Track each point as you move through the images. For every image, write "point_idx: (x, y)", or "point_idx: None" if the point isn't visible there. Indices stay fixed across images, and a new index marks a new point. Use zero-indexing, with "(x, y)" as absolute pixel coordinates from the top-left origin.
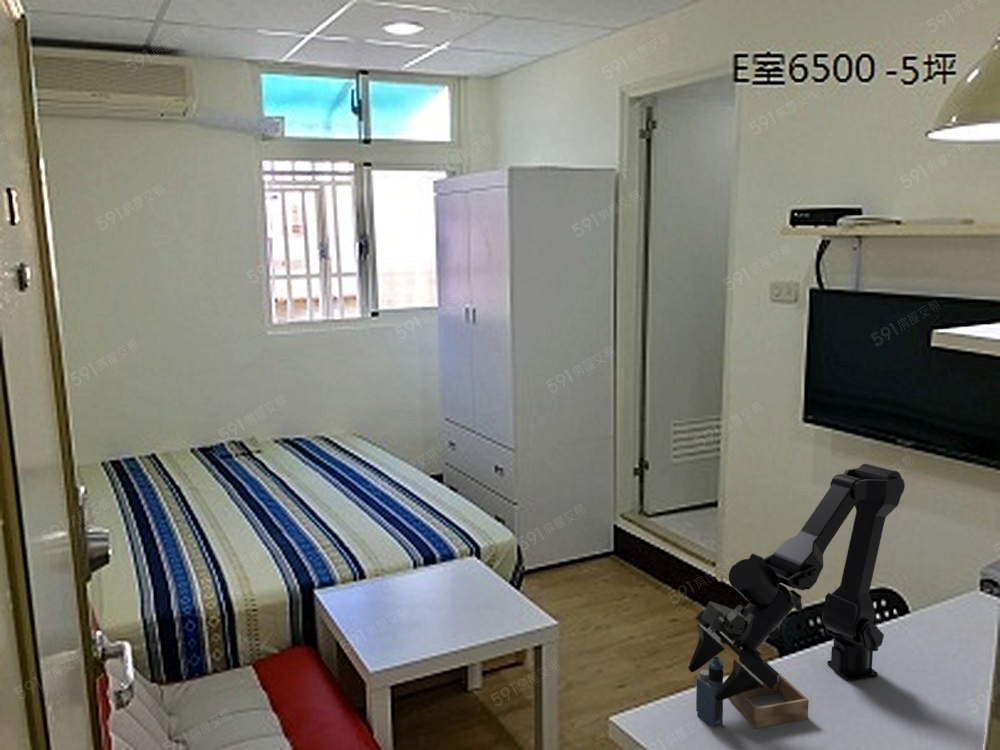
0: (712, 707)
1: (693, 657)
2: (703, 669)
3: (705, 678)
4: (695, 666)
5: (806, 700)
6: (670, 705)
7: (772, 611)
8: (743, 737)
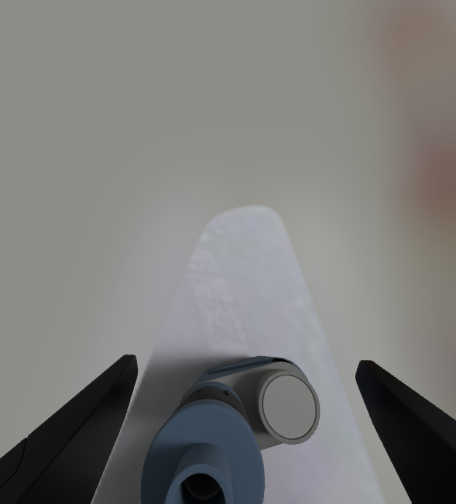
0: (201, 377)
1: (423, 404)
2: (317, 411)
3: (259, 387)
4: (373, 397)
5: None
6: (313, 313)
7: None
8: (135, 438)
